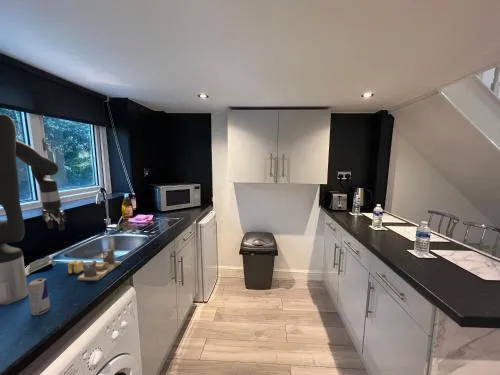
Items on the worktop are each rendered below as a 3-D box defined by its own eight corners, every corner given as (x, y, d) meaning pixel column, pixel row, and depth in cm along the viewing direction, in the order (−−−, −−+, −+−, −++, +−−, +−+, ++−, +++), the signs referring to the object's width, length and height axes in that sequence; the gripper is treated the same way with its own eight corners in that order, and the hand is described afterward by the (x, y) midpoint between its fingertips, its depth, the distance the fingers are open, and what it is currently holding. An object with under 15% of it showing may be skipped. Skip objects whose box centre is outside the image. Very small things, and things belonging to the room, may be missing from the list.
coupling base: (98, 280, 113) (96, 263, 112) (77, 280, 113) (75, 263, 112) (120, 263, 131) (119, 248, 130) (102, 263, 131) (101, 248, 130)
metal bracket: (52, 252, 136) (51, 260, 124) (56, 260, 137) (56, 269, 126) (19, 265, 128) (15, 276, 116) (25, 274, 129) (22, 285, 118)
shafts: (89, 268, 113) (88, 261, 113) (85, 268, 113) (84, 261, 113) (112, 254, 130) (111, 247, 130) (108, 254, 130) (108, 247, 130)
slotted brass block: (83, 269, 125) (82, 260, 124) (78, 273, 121) (76, 263, 120) (74, 269, 125) (73, 260, 124) (68, 273, 121) (67, 263, 120)
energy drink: (54, 306, 93) (50, 277, 92) (42, 315, 88) (38, 284, 86) (39, 307, 93) (35, 278, 92) (27, 316, 88) (23, 285, 86)
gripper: (33, 200, 124) (39, 230, 127) (52, 202, 119) (58, 232, 123) (49, 197, 131) (54, 225, 134) (68, 198, 126) (73, 227, 130)
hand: (56, 228), depth 128 cm, fingers open, 8 cm apart
